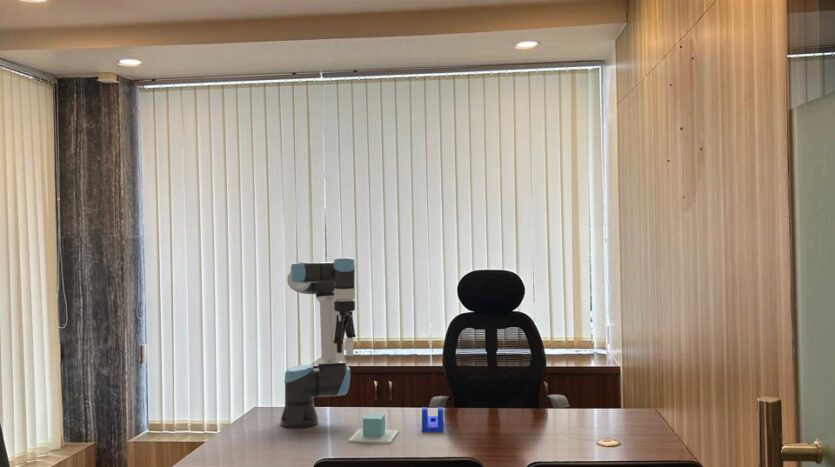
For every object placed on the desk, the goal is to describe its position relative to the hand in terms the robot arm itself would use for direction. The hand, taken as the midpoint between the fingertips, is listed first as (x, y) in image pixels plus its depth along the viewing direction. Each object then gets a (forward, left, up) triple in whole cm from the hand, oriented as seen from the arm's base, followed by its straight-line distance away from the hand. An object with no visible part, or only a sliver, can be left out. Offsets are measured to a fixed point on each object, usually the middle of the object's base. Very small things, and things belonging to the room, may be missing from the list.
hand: (345, 358), depth 280 cm
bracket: (-35, +27, -33) cm, 55 cm away
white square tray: (-16, +7, -33) cm, 37 cm away
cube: (-16, +7, -32) cm, 36 cm away
